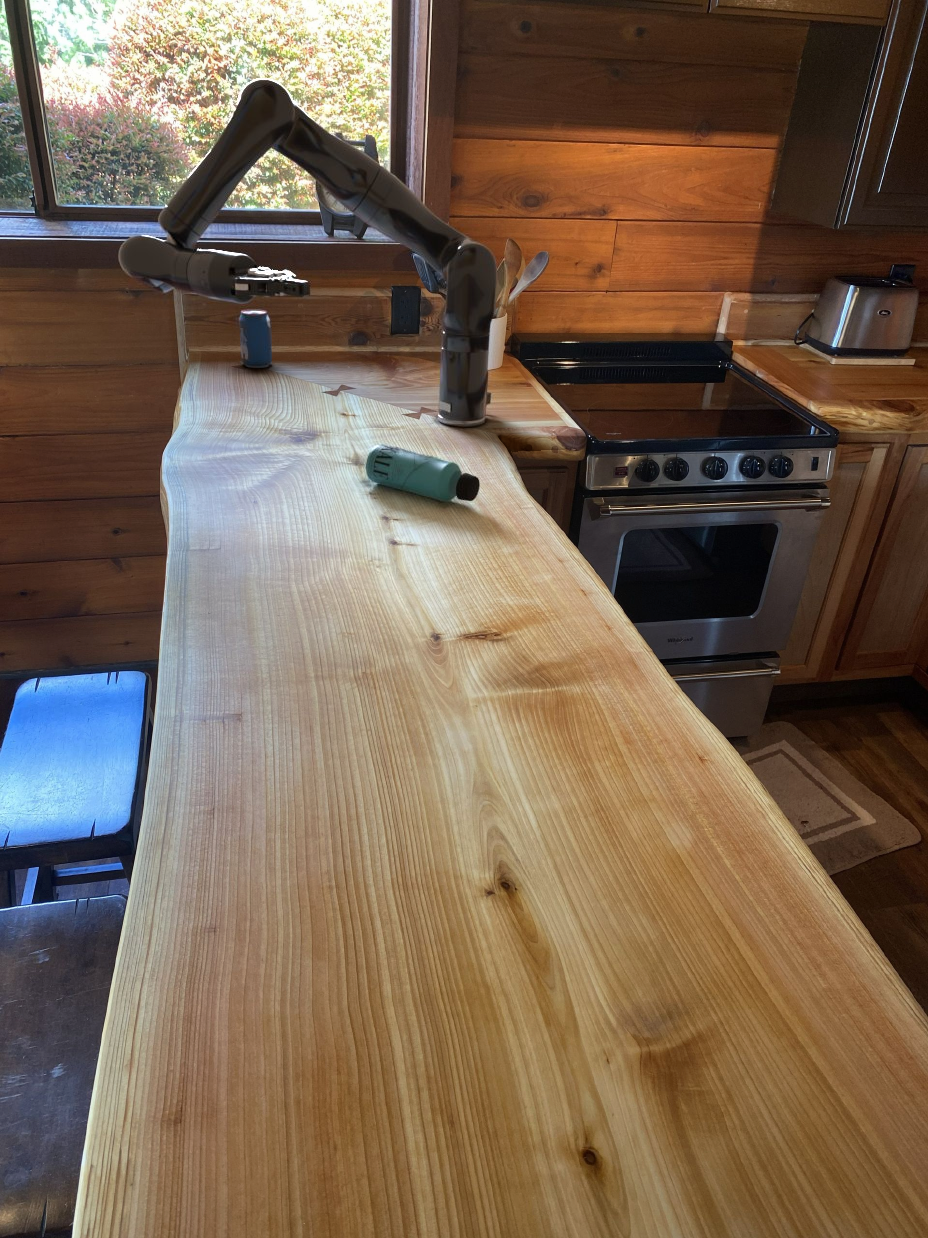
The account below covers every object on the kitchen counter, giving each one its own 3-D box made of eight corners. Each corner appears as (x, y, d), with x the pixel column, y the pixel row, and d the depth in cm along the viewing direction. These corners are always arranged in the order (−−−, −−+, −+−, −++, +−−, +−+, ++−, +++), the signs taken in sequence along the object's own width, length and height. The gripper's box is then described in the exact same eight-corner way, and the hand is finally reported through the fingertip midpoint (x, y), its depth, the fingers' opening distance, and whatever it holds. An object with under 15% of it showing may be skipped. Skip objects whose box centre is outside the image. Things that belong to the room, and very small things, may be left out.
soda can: (277, 363, 213) (274, 310, 207) (264, 369, 207) (261, 315, 201) (249, 360, 214) (246, 307, 208) (236, 366, 208) (233, 312, 202)
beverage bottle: (382, 472, 149) (486, 500, 140) (357, 486, 145) (463, 516, 136) (380, 435, 146) (486, 461, 137) (355, 448, 141) (463, 477, 132)
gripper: (190, 254, 140) (277, 267, 132) (249, 248, 150) (333, 259, 142) (195, 305, 143) (280, 320, 136) (252, 295, 153) (333, 309, 146)
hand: (307, 289), depth 139 cm, fingers closed
